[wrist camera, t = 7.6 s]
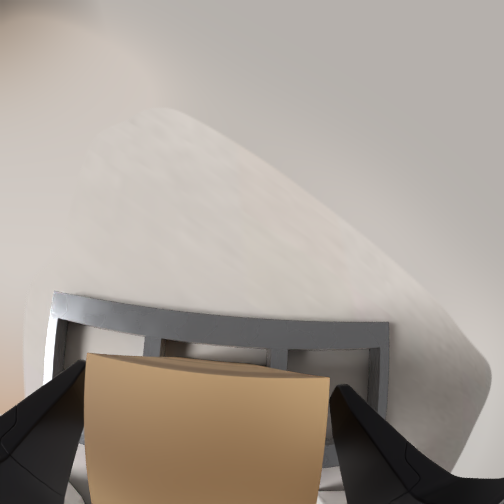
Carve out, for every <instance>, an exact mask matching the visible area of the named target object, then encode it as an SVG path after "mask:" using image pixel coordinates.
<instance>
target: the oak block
mask: <svg viewBox="0 0 504 504" xmlns="http://www.w3.org/2000/svg"><path fill="white" fill-rule="evenodd" d="M329 385H330V377H322V376H315V375H309V374H302V373H296V372H290V371H285V370H279V369H274V368H269V367H264V366H259V365H254V364H248V363H233V362H220V361H210V360H200V359H191V358H183V357H144V356H122V355H107V354H95V353H87V358H86V371H85V389H84V437H85V455H86V466H87V476H88V484H89V491H90V498H91V503H92V504H316V503H317V497H318V491H319V485H320V478H321V471H322V463H323V455H324V447H325V437H326V427H327V415H328V402H329Z"/></svg>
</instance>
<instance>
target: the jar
mask: <svg viewBox="0 0 504 504" xmlns="http://www.w3.org/2000/svg"><path fill="white" fill-rule="evenodd" d="M316 504H347V501H346V496H345V491H318V497H317V503H316Z"/></svg>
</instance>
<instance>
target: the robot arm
mask: <svg viewBox="0 0 504 504" xmlns="http://www.w3.org/2000/svg"><path fill="white" fill-rule="evenodd" d="M85 371H86V361H85V360H78V361H77V362H75V363H74V364H72V365H71V366H70V367H68V368H67V369H65V370H64V371H63V372H61V373H60V374H58V375H57V376H56V377H54V378H53V379H52V380H50V381H49V382H47V383H46V384H45V385H43V386H42V387H40V388H39V389H38V390H36V391H35V392H33V393H32V394H31V395H29V396H28V397H27V398H25V399H24V400H22V401H21V402H20V403H18V404H17V406H16V405H15V406H14V407H13V408H11V409H10V410H9V411H7V412H6V413H4V414H3V415H1V416H0V504H64V500H65V498H64V497H65V495H66V490H67V486H68V481H69V477H70V473H71V469H72V466H73V462H74V458H75V455H76V451H77V448H78V444H79V441H80V438H81V434H82V431H83V428H84V389H85ZM329 404H330V413H331V423H332V433H333V439H334V444H335V448H336V453H337V457H338V462H339V467H340V471H341V476H342V481H343V486H344V491H345V496H346V501H347V504H504V478H500V479H478V478H462V477H457V476H454V475H452V474H451V473H449V472H447V471H446V470H444V469H443V468H441V467H440V466H439V465H437V464H436V463H434V462H433V461H431V460H430V459H429V458H427V457H426V456H425V455H423V454H422V453H421V452H420V451H419V450H417V449H416V448H415V447H414V446H413V445H412V444H411V443H409V442H408V441H407V440H406V439H405V438H404V437H403V436H402V435H401V434H400V433H399V432H397V431H396V430H395V429H394V428H393V427H392V426H391V425H390V424H389V423H388V422H387V421H386V420H385V419H384V418H383V417H381V416H380V415H379V414H378V413H377V412H376V411H375V410H374V409H373V408H372V407H371V406H370V405H369V404H368V403H367V402H366V401H365V400H364V399H363V398H361V397H360V396H359V395H358V394H357V393H356V392H355V391H354V390H353V389H352V388H351V387H350V386H349V385H347V384H342V385H337V386H336V387H335V389H334V391H333V393H332V395H331V397H330V400H329Z"/></svg>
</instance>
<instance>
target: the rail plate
mask: <svg viewBox="0 0 504 504" xmlns="http://www.w3.org/2000/svg"><path fill="white" fill-rule="evenodd" d="M68 321H70V322H74V323H78V324H82V325H87V326H91V327H96V328H101V329H105V330H111V331H116V332H121V333H127V334H132V335H138V336H144V337H145V342H144V352H143V356H144V357H164V354H165V343H166V340H171V341H179V342H187V343H196V344H205V345H216V346H227V347H241V348H257V349H267V360H266V367H269V368H274V369H279V370H285V371H287V358H288V350H351V349H369V384H368V401H367V403H368V404H369V405H370V406H371V407H372V408H373V409H374V410H375V411H376V412H377V413H378V414H379V415H380V416H381V417H383V418H384V419H385V420H386V410H387V397H388V377H389V322H318V321H292V320H273V319H257V318H243V317H231V316H220V315H209V314H199V313H190V312H181V311H173V310H165V309H157V308H150V307H143V306H136V305H130V304H123V303H117V302H111V301H105V300H99V299H94V298H88V297H83V296H77V295H72V294H67V293H62V292H58V291H54V294H53V300H52V305H51V311H50V318H49V325H48V332H47V341H46V351H45V364H44V385H45V384H46V383H47V382H49V381H50V380H52V379H53V378H54V377H56V376H57V375H58V374H60V373H61V372H63V366H64V353H65V343H66V334H67V326H68ZM79 443H80V444H83V445H85V437H84V428H83V431H82V434H81V438H80V441H79ZM335 466H339V462H338V457H337V453H336V448H335V444H334V439H333V438H331V439H325V447H324V455H323V463H322V468H329V467H335Z"/></svg>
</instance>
